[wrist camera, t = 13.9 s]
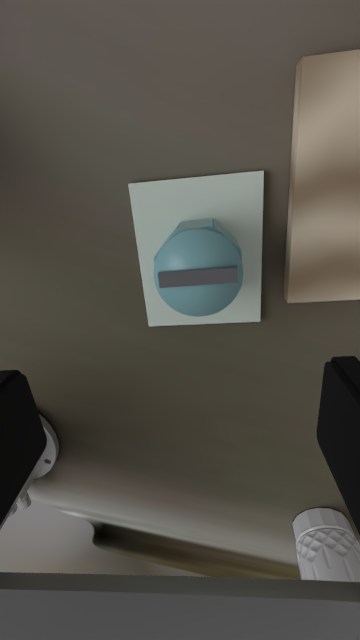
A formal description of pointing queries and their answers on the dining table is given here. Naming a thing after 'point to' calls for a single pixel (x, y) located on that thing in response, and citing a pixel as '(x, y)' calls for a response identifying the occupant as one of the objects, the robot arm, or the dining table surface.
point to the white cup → (326, 546)
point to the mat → (193, 204)
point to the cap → (198, 268)
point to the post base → (325, 181)
